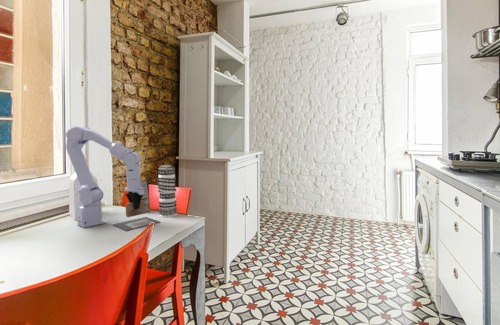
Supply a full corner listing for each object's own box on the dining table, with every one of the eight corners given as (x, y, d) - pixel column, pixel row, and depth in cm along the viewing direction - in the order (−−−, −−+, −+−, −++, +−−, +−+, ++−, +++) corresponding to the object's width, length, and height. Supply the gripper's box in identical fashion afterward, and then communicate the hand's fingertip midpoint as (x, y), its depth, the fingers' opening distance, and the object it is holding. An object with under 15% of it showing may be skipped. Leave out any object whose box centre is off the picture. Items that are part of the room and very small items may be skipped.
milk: (69, 215, 149) (65, 164, 147) (94, 211, 156) (91, 162, 154) (74, 219, 140) (71, 165, 138) (100, 215, 148) (97, 164, 145)
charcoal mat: (126, 231, 122) (126, 230, 122) (112, 225, 130) (112, 224, 130) (160, 222, 134) (160, 221, 134) (145, 217, 142) (145, 216, 142)
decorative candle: (155, 217, 143) (152, 166, 141) (163, 212, 152) (162, 164, 150) (172, 217, 141) (170, 166, 139) (180, 213, 150) (178, 164, 148)
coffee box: (150, 210, 156) (149, 180, 154) (140, 213, 150) (138, 182, 149) (139, 208, 160) (138, 179, 159) (129, 211, 155) (127, 181, 154)
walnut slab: (128, 217, 130) (127, 204, 129) (126, 216, 131) (125, 203, 131) (145, 213, 136) (144, 200, 135) (142, 212, 137) (142, 200, 137)
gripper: (150, 179, 130) (151, 209, 131) (134, 176, 140) (135, 204, 141) (134, 181, 125) (136, 212, 126) (119, 178, 135) (121, 207, 136)
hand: (135, 208), depth 133 cm, fingers closed on walnut slab, 2 cm apart
